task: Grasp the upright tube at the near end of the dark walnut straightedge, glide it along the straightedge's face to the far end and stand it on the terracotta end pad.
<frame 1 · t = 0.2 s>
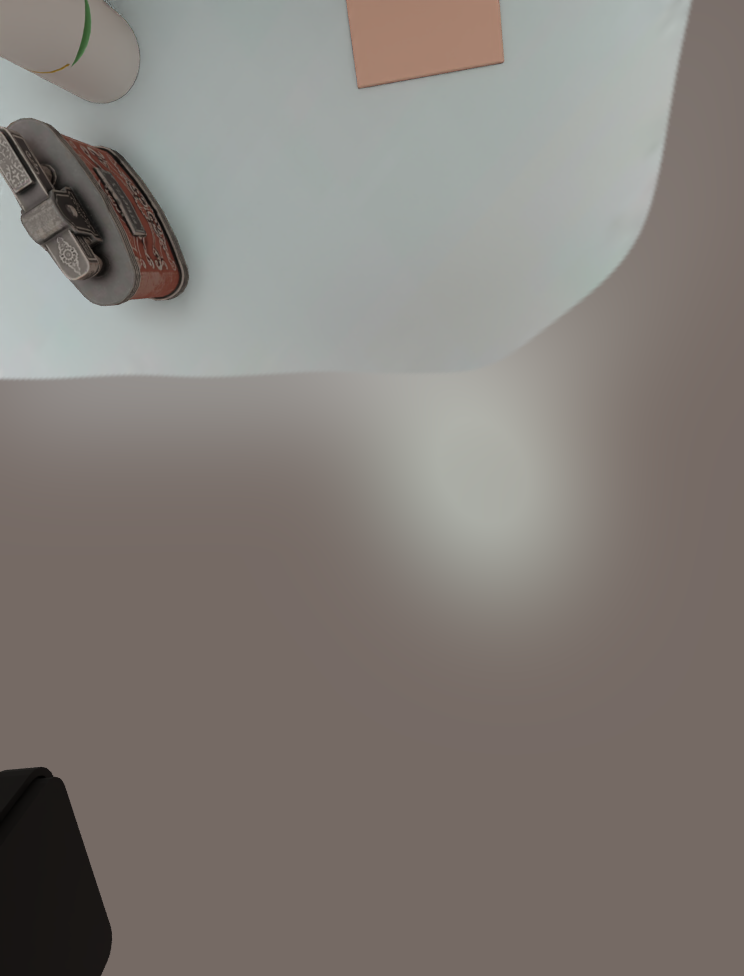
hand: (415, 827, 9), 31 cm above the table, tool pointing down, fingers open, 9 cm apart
lighter: (137, 226, 37), on the table
end pad: (422, 4, 33), on the table
tube: (98, 56, 35), on the table
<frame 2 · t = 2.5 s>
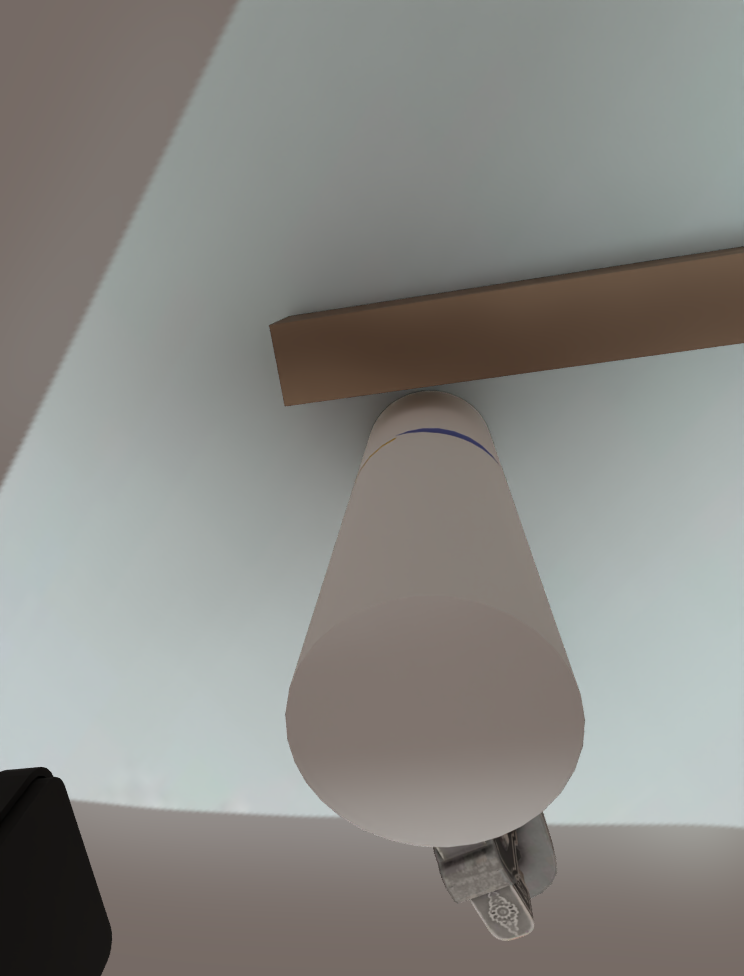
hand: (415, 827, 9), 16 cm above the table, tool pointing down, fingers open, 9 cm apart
lighter: (456, 651, 27), on the table
walnut straightedge: (667, 298, 22), on the table
tube: (429, 450, 25), on the table
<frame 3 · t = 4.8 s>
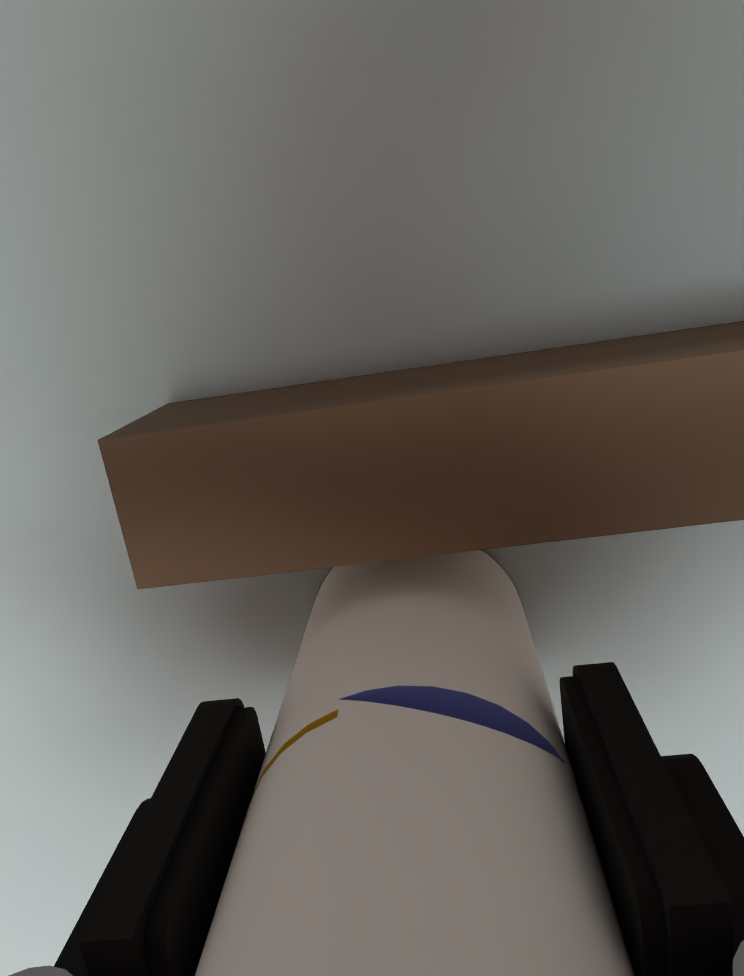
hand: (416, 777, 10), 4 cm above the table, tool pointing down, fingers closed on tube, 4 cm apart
tube: (417, 625, 14), on the table, touching gripper
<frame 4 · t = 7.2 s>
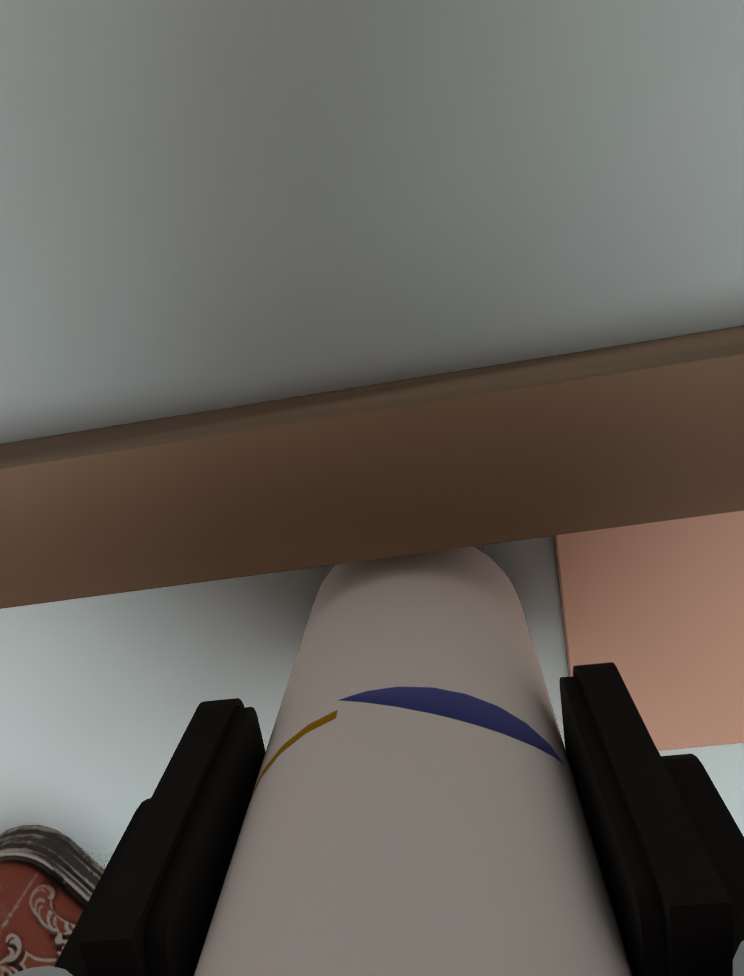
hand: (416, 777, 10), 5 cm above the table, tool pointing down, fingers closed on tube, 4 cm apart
lighter: (104, 938, 19), on the table
end pad: (737, 608, 15), on the table
walnut straightedge: (315, 454, 14), on the table
tube: (416, 626, 14), point 1 cm above the table, touching gripper
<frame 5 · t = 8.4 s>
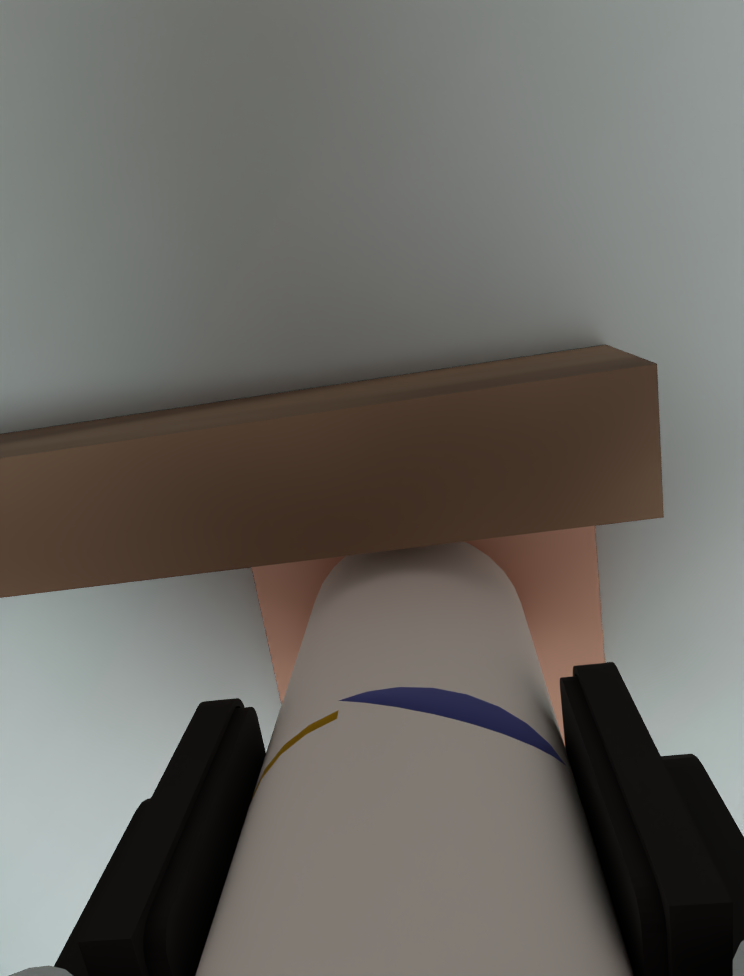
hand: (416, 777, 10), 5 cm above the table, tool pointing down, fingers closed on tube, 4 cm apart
end pad: (432, 638, 15), on the table
walnut straightedge: (25, 488, 15), on the table
tube: (417, 626, 14), point 1 cm above the table, touching gripper
when the fingers open (5 cm above the table, at t = 9.6 s): tube stays where it is, resting on end pad.
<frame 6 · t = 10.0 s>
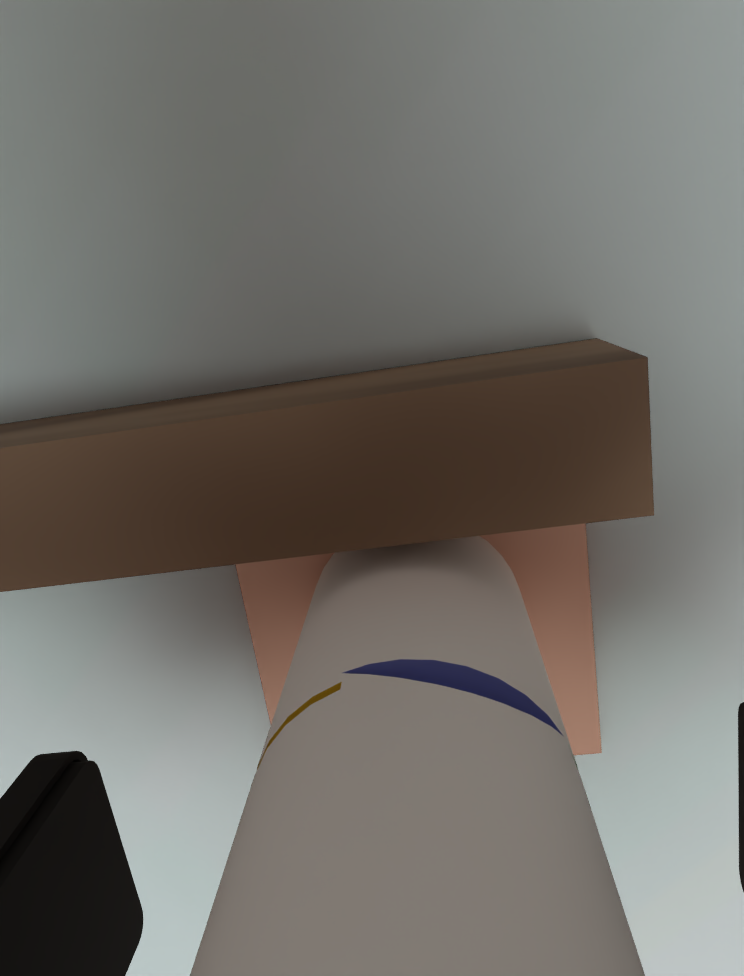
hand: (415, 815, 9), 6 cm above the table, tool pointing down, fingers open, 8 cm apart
end pad: (420, 637, 15), on the table
walnut straightedge: (4, 483, 15), on the table
tube: (416, 611, 15), resting on end pad
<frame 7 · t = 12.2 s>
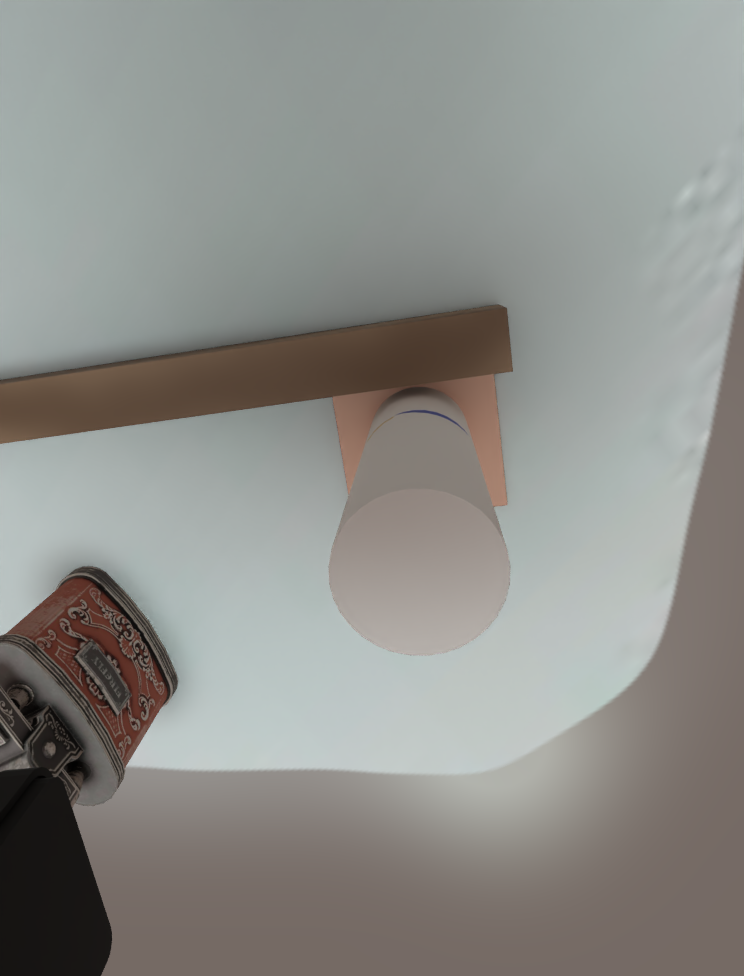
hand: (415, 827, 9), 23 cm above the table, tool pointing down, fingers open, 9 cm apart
lighter: (123, 633, 36), on the table
end pad: (420, 448, 32), on the table
walnut straightedge: (226, 374, 31), on the table
tube: (419, 434, 31), resting on end pad
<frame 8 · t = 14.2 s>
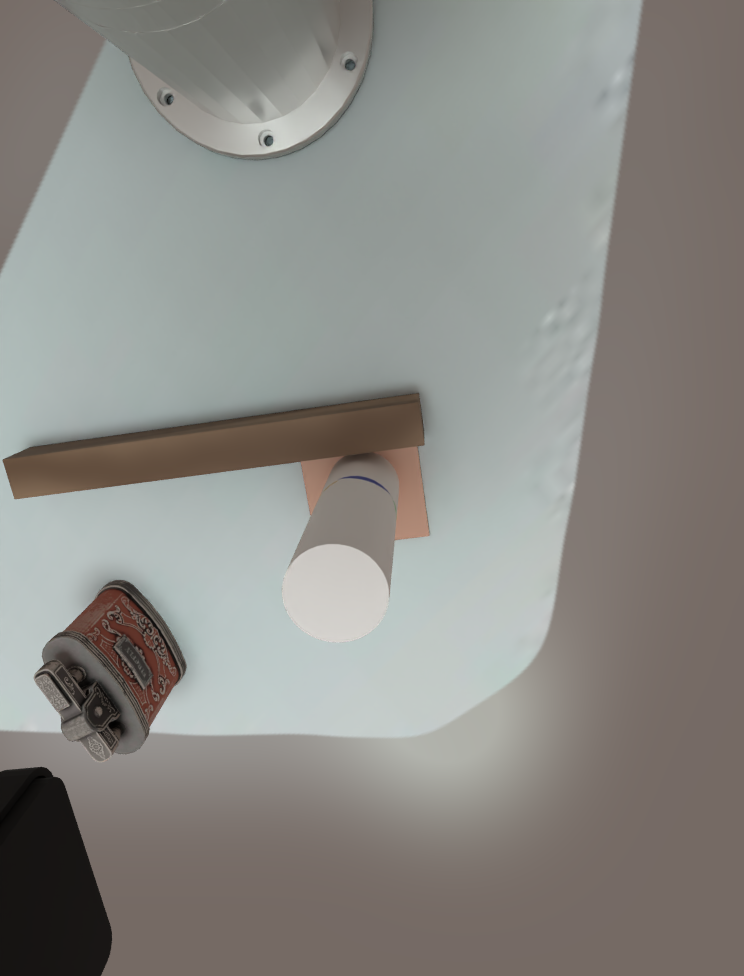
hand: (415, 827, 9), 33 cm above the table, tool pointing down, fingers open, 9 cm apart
lighter: (145, 630, 47), on the table
end pad: (365, 494, 43), on the table
walnut straightedge: (222, 440, 43), on the table
tube: (363, 484, 43), resting on end pad
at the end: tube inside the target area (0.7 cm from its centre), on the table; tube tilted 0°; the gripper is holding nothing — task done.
